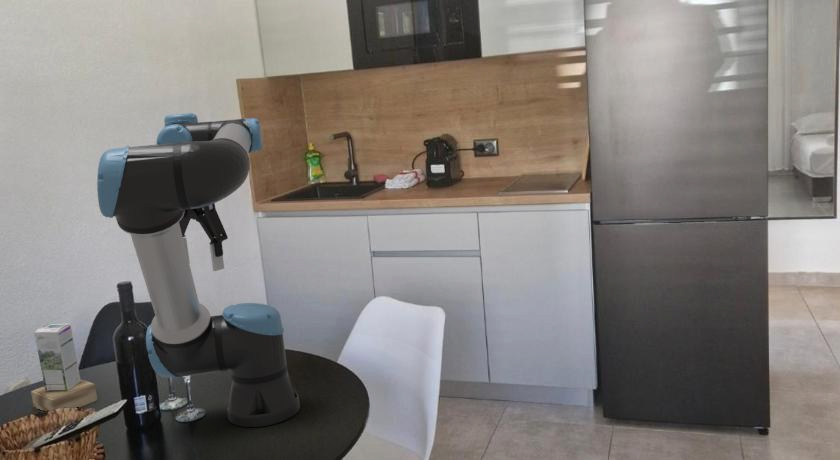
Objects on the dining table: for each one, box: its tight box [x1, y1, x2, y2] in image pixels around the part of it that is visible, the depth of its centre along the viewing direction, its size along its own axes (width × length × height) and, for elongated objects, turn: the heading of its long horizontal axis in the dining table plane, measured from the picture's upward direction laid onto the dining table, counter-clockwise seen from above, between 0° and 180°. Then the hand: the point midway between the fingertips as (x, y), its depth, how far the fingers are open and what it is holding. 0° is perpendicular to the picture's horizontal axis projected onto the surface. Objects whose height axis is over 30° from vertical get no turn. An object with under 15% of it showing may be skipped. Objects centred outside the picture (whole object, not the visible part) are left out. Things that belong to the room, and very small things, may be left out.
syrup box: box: [33, 323, 81, 391], centre depth 175 cm, size 6×6×14 cm
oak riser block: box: [30, 378, 98, 411], centre depth 177 cm, size 10×10×4 cm
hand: (201, 267), depth 185 cm, fingers open, 13 cm apart
